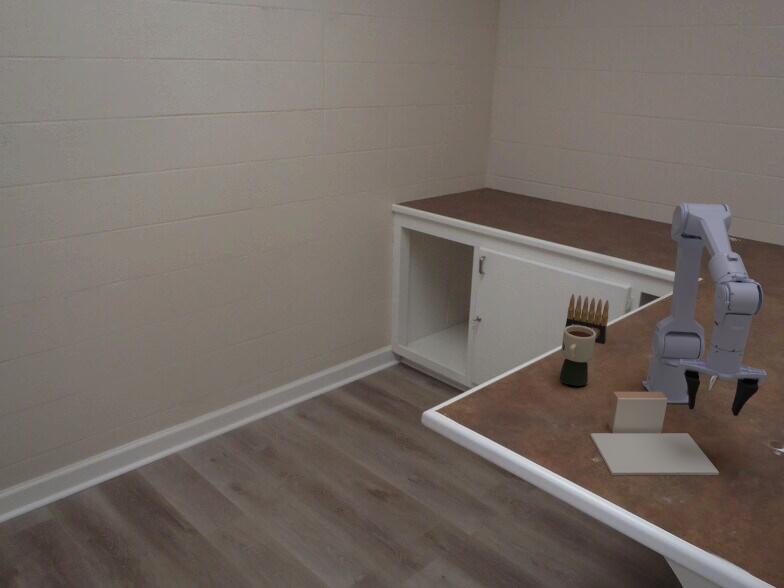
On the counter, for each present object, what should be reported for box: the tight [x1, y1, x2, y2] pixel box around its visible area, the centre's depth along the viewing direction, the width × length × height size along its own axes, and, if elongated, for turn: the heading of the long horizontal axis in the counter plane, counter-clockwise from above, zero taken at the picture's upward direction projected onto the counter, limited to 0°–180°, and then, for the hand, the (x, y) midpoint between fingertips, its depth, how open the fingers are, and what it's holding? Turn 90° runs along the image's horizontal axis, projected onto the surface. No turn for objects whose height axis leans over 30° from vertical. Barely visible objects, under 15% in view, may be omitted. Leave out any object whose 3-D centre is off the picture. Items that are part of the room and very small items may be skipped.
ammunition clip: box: [564, 293, 610, 345], centre depth 177 cm, size 11×2×12 cm, turn 63°
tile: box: [607, 391, 668, 433], centre depth 137 cm, size 3×10×8 cm, turn 92°
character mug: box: [559, 325, 596, 387], centre depth 154 cm, size 11×7×13 cm, turn 148°
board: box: [589, 432, 720, 476], centre depth 130 cm, size 13×20×1 cm, turn 92°
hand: (712, 409), depth 127 cm, fingers open, 7 cm apart
